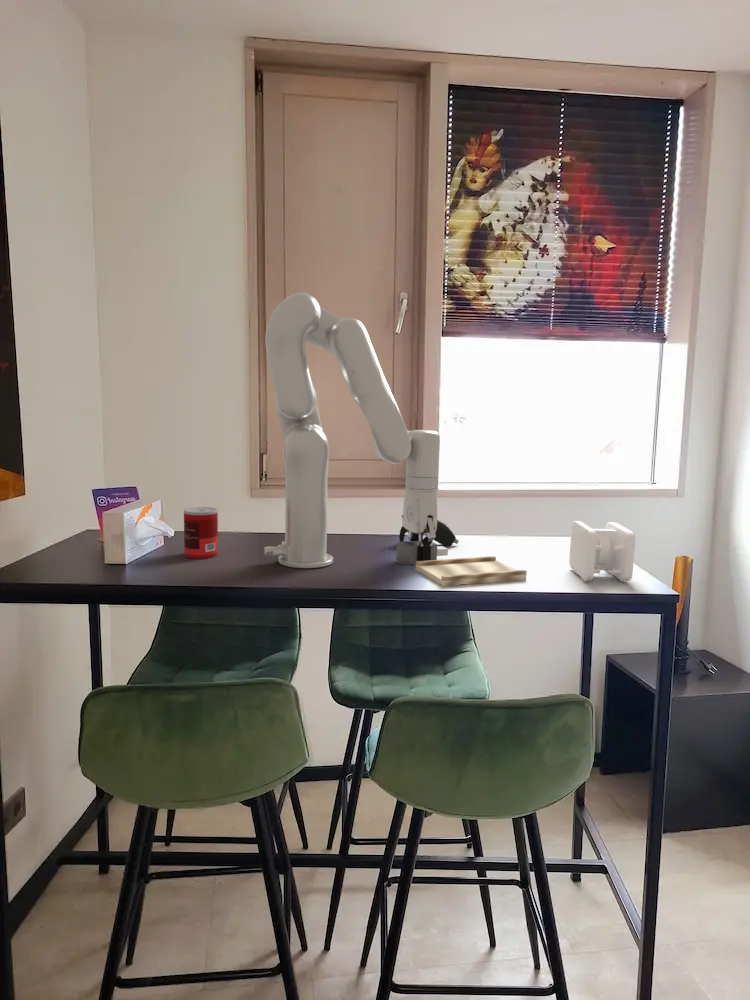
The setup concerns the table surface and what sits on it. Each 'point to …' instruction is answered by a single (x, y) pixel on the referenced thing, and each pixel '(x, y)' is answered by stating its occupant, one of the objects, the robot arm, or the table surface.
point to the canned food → (200, 532)
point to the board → (469, 571)
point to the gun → (437, 534)
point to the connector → (415, 552)
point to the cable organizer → (602, 550)
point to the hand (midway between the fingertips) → (419, 559)
